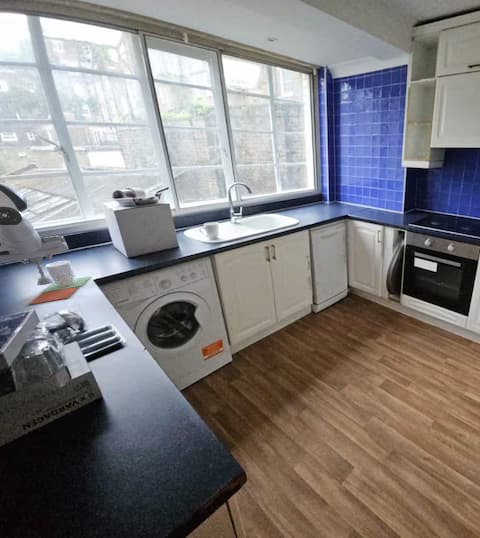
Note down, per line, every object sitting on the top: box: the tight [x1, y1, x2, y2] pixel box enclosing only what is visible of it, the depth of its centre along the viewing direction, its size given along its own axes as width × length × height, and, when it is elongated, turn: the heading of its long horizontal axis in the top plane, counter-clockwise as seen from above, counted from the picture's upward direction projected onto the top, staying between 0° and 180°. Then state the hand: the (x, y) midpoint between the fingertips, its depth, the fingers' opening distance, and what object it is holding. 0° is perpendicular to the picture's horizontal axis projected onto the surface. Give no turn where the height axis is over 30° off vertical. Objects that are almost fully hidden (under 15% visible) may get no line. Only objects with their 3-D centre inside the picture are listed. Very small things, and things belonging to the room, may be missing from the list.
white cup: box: [44, 259, 77, 287], centre depth 131 cm, size 8×8×10 cm
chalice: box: [28, 256, 54, 286], centre depth 117 cm, size 7×7×18 cm
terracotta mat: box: [28, 287, 79, 306], centre depth 123 cm, size 12×11×1 cm
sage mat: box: [42, 276, 90, 293], centre depth 133 cm, size 13×11×1 cm
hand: (37, 259), depth 117 cm, fingers closed on chalice, 5 cm apart
